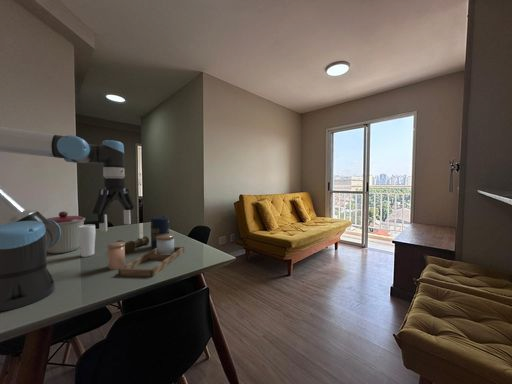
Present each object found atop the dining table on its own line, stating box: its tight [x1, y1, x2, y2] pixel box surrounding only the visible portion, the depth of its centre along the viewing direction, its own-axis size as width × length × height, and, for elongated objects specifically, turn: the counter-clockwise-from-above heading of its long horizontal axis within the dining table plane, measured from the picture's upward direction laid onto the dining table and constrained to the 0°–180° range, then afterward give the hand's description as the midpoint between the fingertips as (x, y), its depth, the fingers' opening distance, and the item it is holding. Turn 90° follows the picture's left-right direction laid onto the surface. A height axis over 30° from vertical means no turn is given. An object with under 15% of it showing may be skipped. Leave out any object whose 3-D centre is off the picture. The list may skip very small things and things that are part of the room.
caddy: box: [117, 246, 185, 278], centre depth 94 cm, size 29×14×2 cm, turn 176°
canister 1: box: [46, 211, 86, 254], centre depth 109 cm, size 18×18×21 cm
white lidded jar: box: [156, 233, 176, 254], centre depth 102 cm, size 9×9×10 cm
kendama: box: [116, 235, 150, 254], centre depth 112 cm, size 6×10×20 cm
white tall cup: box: [78, 224, 97, 258], centre depth 102 cm, size 7×7×15 cm
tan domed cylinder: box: [106, 241, 126, 270], centre depth 88 cm, size 6×6×10 cm
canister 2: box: [150, 215, 170, 249], centre depth 116 cm, size 10×10×18 cm
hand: (116, 227), depth 88 cm, fingers open, 13 cm apart
